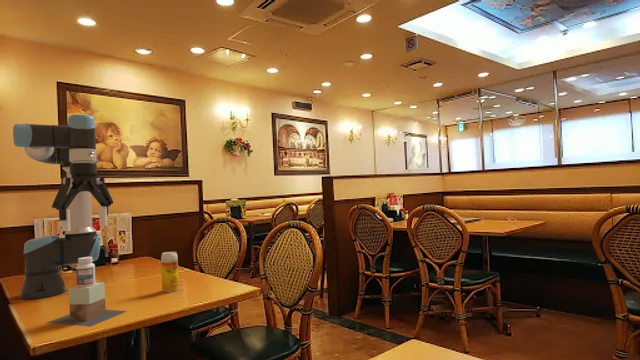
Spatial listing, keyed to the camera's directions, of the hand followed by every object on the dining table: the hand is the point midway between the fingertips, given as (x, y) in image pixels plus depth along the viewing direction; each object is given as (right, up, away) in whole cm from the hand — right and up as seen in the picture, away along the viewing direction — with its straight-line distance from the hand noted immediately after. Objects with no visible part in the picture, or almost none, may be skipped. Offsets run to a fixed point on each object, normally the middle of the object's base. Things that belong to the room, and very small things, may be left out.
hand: (85, 228), depth 126 cm
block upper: (+1, -23, -1) cm, 23 cm away
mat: (+1, -29, -1) cm, 29 cm away
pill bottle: (+1, -18, -1) cm, 18 cm away
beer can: (+17, -29, +29) cm, 44 cm away
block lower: (+1, -28, -1) cm, 28 cm away
